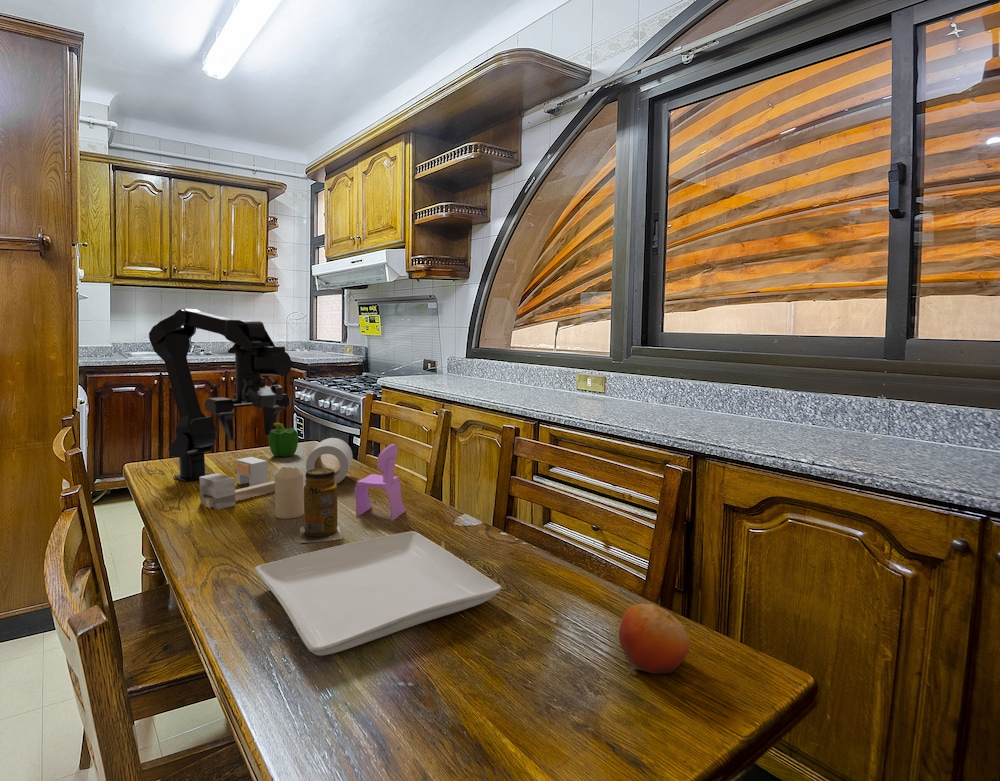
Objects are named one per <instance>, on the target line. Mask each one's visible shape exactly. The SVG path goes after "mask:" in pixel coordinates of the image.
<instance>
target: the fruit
mask: <svg viewBox="0 0 1000 781" xmlns="http://www.w3.org/2000/svg"><path fill="white" fill-rule="evenodd" d="M618 636H619V643H620V647H621V649H622V650H623V655H625V657H626V659H627V662H628V665H629V668H630V669H629V671H628V672H627V674H628V676H630V675H631V674H632V673H633V672H634V671H635V670H638V671H643V672H646V673H650V674H653V675H654V674H656V675H657V674H671V673H672V672H674V671H675V670H676V669H677V668H678V667H679V666H680V665H681V664H682V662H683V661H684V660H685V658H686V657H687V655H688V654H689V648H690V645H691V638H690V636H689V635H688V634H687V632H686V630H685V627H684V625H683V624H682V623H681V621H679V620H678V618H677V617H675V616H674V615H673V614H672V613H671V612H669V611H668V610H666V609H664V608H662V607H660V606H657V605H656V604H652V603H651V604H647V603H638V604H637V603H636V604H634V605H632V606H630V607H628V608H627V610H626V611H625V613H624V615H623V618H622V620H621V623H620V626H619V630H618Z"/></svg>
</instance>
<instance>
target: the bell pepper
mask: <svg viewBox="0 0 1000 781" xmlns="http://www.w3.org/2000/svg"><path fill="white" fill-rule="evenodd" d="M273 426H274V427H277V426H278V427H280V429H277V428H274V429H273V428H272V429H271V432H270V435H267V438H268V446H269V449H270V452H271V454H272V455H273V456H274V457H292V456H294V455H295V453H296V452H297V448H298V444H299V433H298V431H297V430H296V429H295V428H294V427H291V428H285V426H284V424H283V423H282V422H281V423H280V422H274V424H273Z"/></svg>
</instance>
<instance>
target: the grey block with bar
mask: <svg viewBox="0 0 1000 781" xmlns="http://www.w3.org/2000/svg"><path fill="white" fill-rule="evenodd" d="M210 474H211V475H206V476H201V477H199V479H198V480H199V494H200V496H199V497H200V501H199V502H200V504H201V505H203V504H204V505H203V506H205V508H207V507H208V508H207V509H211V507H212V508H213V510H216V509H217V511H220V510H223V509H226V508H230V507H234V506H236V502H239V500H240V501H244V500H247V499H252V498H255V496H256V497H259V496H263V495H267V493H268V494H272V493H275V480H273V481H268V482H267V483H263V484H259V485H255V486H250V487H249V486H248V487H243V488H238V489H236V483H235V482H236V479H235V477H232V476H228V475H226V474H222V473H218V472H217V473H210ZM251 497H252V498H251Z"/></svg>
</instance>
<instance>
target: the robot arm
mask: <svg viewBox="0 0 1000 781" xmlns="http://www.w3.org/2000/svg"><path fill="white" fill-rule="evenodd" d="M197 329H199V330H203V331H207V332H211V333H215V334H219V335H221V336H223V337H224V338H225V339H226V340H227V341H229V342H231V343H233V345H232V346H231V347H230V348H229V349H228V350H227V354H234V356H235V358H234V359H235V376H232V382H235V393H233V394H232V395H233V396H232V398H233V399H232V398H227V397H222V396H220V397H219V396H218V397H209V398H207V399H206V400H205V402H204V411H207V412H210V414H212V415H215V417H216V418H217V419H218V421H219V423H220V424H221V426H222V428H223V430H224V432H225V434H226V436H227V438H228V440H229V441H230V442H232V441H234V434H235V432H234V417H235V415H236V413H235V412H233V410H234V408H242V407H243V408H244V407H253V406H254V407H255V408H257V409H262V415H263V428H264V433H265V435H266V436H269V435H270V432H271V430H273V426H274V423H275V422H276V419H277V417H278V414H279V413H280V412H282V411H283V410H285V409H286V407H289V406H291V397H290V396H289V394H287V393H283V386H282V385H280V384H274V385H272V386H267V383H266V382H267V380H266V377H263V375H265V376H279V377H285V376H287V375H288V374H289V373H290V372H291V370H292V364H293V361H292V359H291V356H290V355H289V353H288V352H286V347H285V346H283V345H282V346H276V345H275V344H274V341H273V340H272V339H271V336H270V335H269V333H268V331H267V330H266V328H265V325H264V323H263V322H262V321H261V320H257V319H256V320H255V319H254V320H253V319H249V320H248V319H233V318H232V319H231V318H228V317H224V316H219V315H216V314H211V313H209V312H205V311H200V310H198V309H195V308H180V309H178V310H176V312H174V313H173V314H171V315H170V316H167V317H166V318H165V319H162V320H160V321H159V322H158V323H157V324H155V325H153V326H152V327H151V329H150V331H149V332H148V338H149V342H150V344H151V347H152V350H153V351H154V353H156V355H157V356H158V358H159V357H160V358H161V360H162V361H163V362H164V365H165V368H166V373H167V375H168V379H169V382H170V387H171V390H172V395H173V398H174V401H175V405H176V408H177V412H178V416H179V418H178V421H177V424H176V427H175V433H176V434H175V435H176V438H175V439H174V441H172V443H171V444H170V446H169V447H168V448H167V449H168V452H169V456H170V457H174V458H175V457H176V458H178V463H179V465H178V466H179V474H177V475H173V478H174V479H177V480H180V481H182V482H191V481H195V480H196V481H197V480H200V479H199V477H201V476H206V475H211V474H212V473H207V472H206V461H205V460H206V459H205V453H209V452H212V451H213V448H214V444H215V440H216V439H217V434H216V432H217V431H218V430H217V429H216V426H215V422H214V418H213V417H212V416H207V415H205V413H204V412H203V411H202V410H201V409H202V408H201V405H200V402H199V397H198V395H197V391H196V387H195V384H194V380H193V376H192V372H191V369H190V366H189V362H188V354H189V351H190V348H191V343H190V342H191V341H190V339H191V338H192V337H193V336H194V335H195V334H196V331H197Z"/></svg>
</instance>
